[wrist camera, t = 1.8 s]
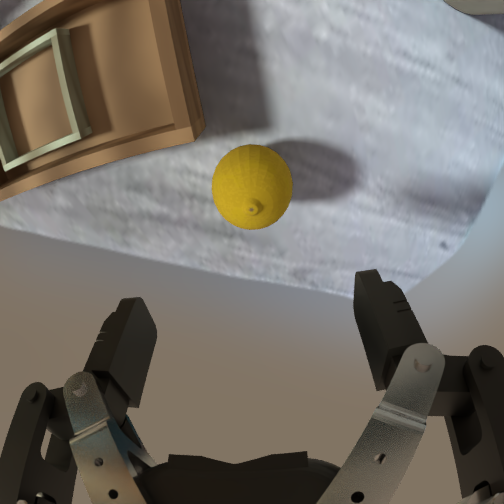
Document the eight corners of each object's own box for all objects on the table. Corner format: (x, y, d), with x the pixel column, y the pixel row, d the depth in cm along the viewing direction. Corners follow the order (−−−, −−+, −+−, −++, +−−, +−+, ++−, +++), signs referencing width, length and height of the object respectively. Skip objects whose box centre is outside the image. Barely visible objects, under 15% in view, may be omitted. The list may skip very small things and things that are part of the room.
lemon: (277, 127, 23) (288, 154, 16) (293, 190, 26) (307, 239, 19) (209, 144, 24) (190, 179, 17) (229, 205, 27) (220, 258, 20)
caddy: (174, -31, 15) (155, -51, 11) (205, 127, 23) (194, 141, 19) (-21, 70, 17) (-54, 79, 13) (11, 187, 25) (-17, 209, 21)
